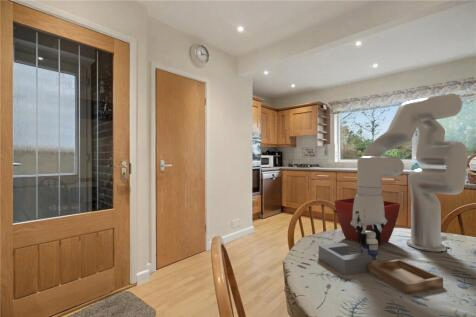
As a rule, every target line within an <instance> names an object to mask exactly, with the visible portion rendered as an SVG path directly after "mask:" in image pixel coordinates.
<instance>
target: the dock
mask: <svg viewBox="0 0 476 317" xmlns="http://www.w3.org/2000/svg"><path fill="white" fill-rule="evenodd" d="M349 252H350V245H349V244H347V243H344V242H338V243H336V242H335V243H329V244H328V243H327V244H319V245H318V259H319V260H321V261H323V263H325V264H327V265H329V266H330V267H332V269H335V271H338V272H340V273H341V274H343V275H344V276H347V275H352V274H353V275H354V274H358V273H364V272H368V264H371V263H372V256H371V255H368V254H366V253H351V254H350V253H349Z"/></svg>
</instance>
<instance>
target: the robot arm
mask: <svg viewBox="0 0 476 317" xmlns="http://www.w3.org/2000/svg"><path fill="white" fill-rule="evenodd" d="M462 108H463V101H462V98H461V97H460V96H459V95H458V94H456V93H448V94H442V95H441V94H440V95H434V96H433V95H432V96H426V97H423V98H418V99H413V100H409V101H406V102H403V103H402V104H400V106H398V108H397V110H396V112H395V115H394V116H393V118H392V120H391V122H390V124H389V126H388V128H387V130H386V131H385V132H383V134H381V135H379V136H377V138H375V139H374V140H373V141H372V142H370V144H368V146H367V147H366V148H365V150H364V151H363V154H362V156H360V157H358V158H357V162H356V164H357V167H356V168H357V172H356V174H357V176H356V177H357V179H356V180H357V189H356V190H357V191H356V195H355V196H354V198H355V199H354V205H353V220H352V221H351V223H350V224H351V225H352V226H353V227H354V228H355V229H356V231H357V232H358V242H357V243H358V244H362V245H364V246H366V234H365V230H366V227H367V225H372V227H373V230H372V232H375V233H376V237H375V239H377V241H378V244H379V245H381V244H380V243H381V233H380V232H382V228H383V227H384V225H385V224H386V223H387V219H386V218H385V213H384V202H383V201H384V197H383V194H382V193H383V188H382V184H383V183H382V182H383V178H395V177H399V176H400V175H402V173H403V172H404V168H405V164H404V161H402V159H401V158H399V157H398V156H393V155H384V154H385V153H386V152H388V151H390V150H393V149H395V148H397V147H400V146H403V145H405V144H407V143H409V142H410V141H412V140H413V137H414V135H415V132H416V130H418V139H417V147H416V153H415V160H416V161H417V163H418V164H420V165H423V166H434V167H435V166H437V167H446V168H433V167H432V168H430V167H429V168H427V167H425V168H423V167H421V168H415V169H413V170H411V171H410V172H409V174H408V176H407V181H408V188H409V191H410V238H408V239H407V240H406V245H408V246H410V247H412V248H415V249H418V250H423V251H426V252H432V253H433V252H434V253H435V252H437V253H441V251H443V252H445V251H446V250H447V247H446V245H445V244H443V243H442V242H445V241H448V237H447V236H446V235H441V233H442V225H441V224H442V223H441V222H442V219H441V218H442V217H441V215H442V214H441V213H442V212H441V211H442V205H441V202H440V200H439V197H438V196H437V195H436V194H440V195H449V196H450V195H451V196H452V195H453V196H454V195H455V196H456V195H459V194H461V193H462V192H463V190H464V188H465V186H466V178H467V177H466V176H467V171H468V162H469V161H468V160H469V156H468V155H469V152H468V148H467V147H466V144H464V143H463V142H460V141H458V140H456V141H455V140H449V141H446V140H445V139H446V130H445V127H444V126H443V125H442V124H441V123H440V122H439V121H437V120H442V119H447V118H451V117H452V118H453V117H455V116H457V115H458V114H459V113H460V112H461V111H462ZM357 223H358V225H357ZM361 225H362V228H361Z"/></svg>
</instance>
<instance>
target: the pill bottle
mask: <svg viewBox="0 0 476 317" xmlns="http://www.w3.org/2000/svg"><path fill="white" fill-rule="evenodd" d="M365 234H366V246H364V245H362V244H360V246H359V247H360V248H359V249H360V253H366V254H368V255H371V256H372V263H378V261H379V245H378V241H377V239H375V237H376V233H375V232H372V231H365Z"/></svg>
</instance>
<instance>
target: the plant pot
mask: <svg viewBox="0 0 476 317" xmlns="http://www.w3.org/2000/svg"><path fill="white" fill-rule="evenodd" d="M354 199H355V197H349V198H344V199H343V198H342V199H336V200H334V205H335V206H334V207H335V211H336V215H337V219H338V223H339V225H340V228H341V231H342V234H343V236H344V238H345V239H347V240H350V241H353V242H355V243H358V232H357V231H356V229H355V228H354V227H353V226H352V225H351V224H350V223H351V221H352V220H353V205H354ZM383 202H384V213H385V218H386V219H387V223H386V224H385V225H384V227H383V228H382V232H380V233H381V243H380V244H378V246H379V245H382V244H385V243H388V242H389V241H390V239H391V236H392V235H393V232H394V229H395V227H396V224H397V220H398V217H399V212H400V208H401V207H400V206H401V203H400V202H396V201H395V202H394V201H387V200H383ZM357 225H358V223H357ZM361 228H362V225H361ZM372 230H373V227H372V225H367V227H366V230H365V231H372Z"/></svg>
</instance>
